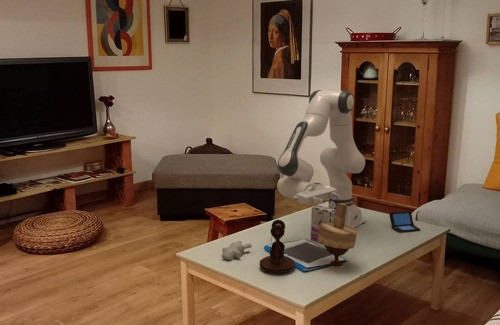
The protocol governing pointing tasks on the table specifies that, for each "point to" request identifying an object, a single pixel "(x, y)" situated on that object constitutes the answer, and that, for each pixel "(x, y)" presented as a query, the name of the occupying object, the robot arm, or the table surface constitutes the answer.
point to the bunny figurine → (234, 250)
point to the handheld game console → (402, 222)
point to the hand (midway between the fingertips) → (331, 199)
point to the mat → (307, 252)
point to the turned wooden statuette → (277, 252)
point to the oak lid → (337, 231)
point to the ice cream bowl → (336, 255)
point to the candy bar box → (320, 219)
